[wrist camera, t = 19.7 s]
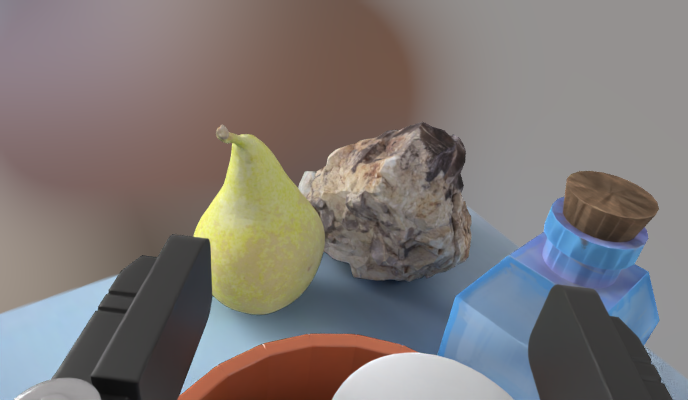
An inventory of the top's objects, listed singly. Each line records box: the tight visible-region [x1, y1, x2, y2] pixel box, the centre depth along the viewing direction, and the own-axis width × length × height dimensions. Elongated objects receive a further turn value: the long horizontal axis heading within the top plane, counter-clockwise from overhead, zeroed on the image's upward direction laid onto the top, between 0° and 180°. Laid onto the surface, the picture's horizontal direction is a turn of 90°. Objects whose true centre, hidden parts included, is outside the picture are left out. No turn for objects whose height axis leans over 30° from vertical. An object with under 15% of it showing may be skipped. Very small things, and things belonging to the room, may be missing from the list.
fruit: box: [193, 125, 325, 315], centre depth 26 cm, size 7×8×12 cm
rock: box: [298, 122, 471, 282], centre depth 32 cm, size 9×12×10 cm
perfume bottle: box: [437, 171, 659, 400], centre depth 22 cm, size 6×6×12 cm
